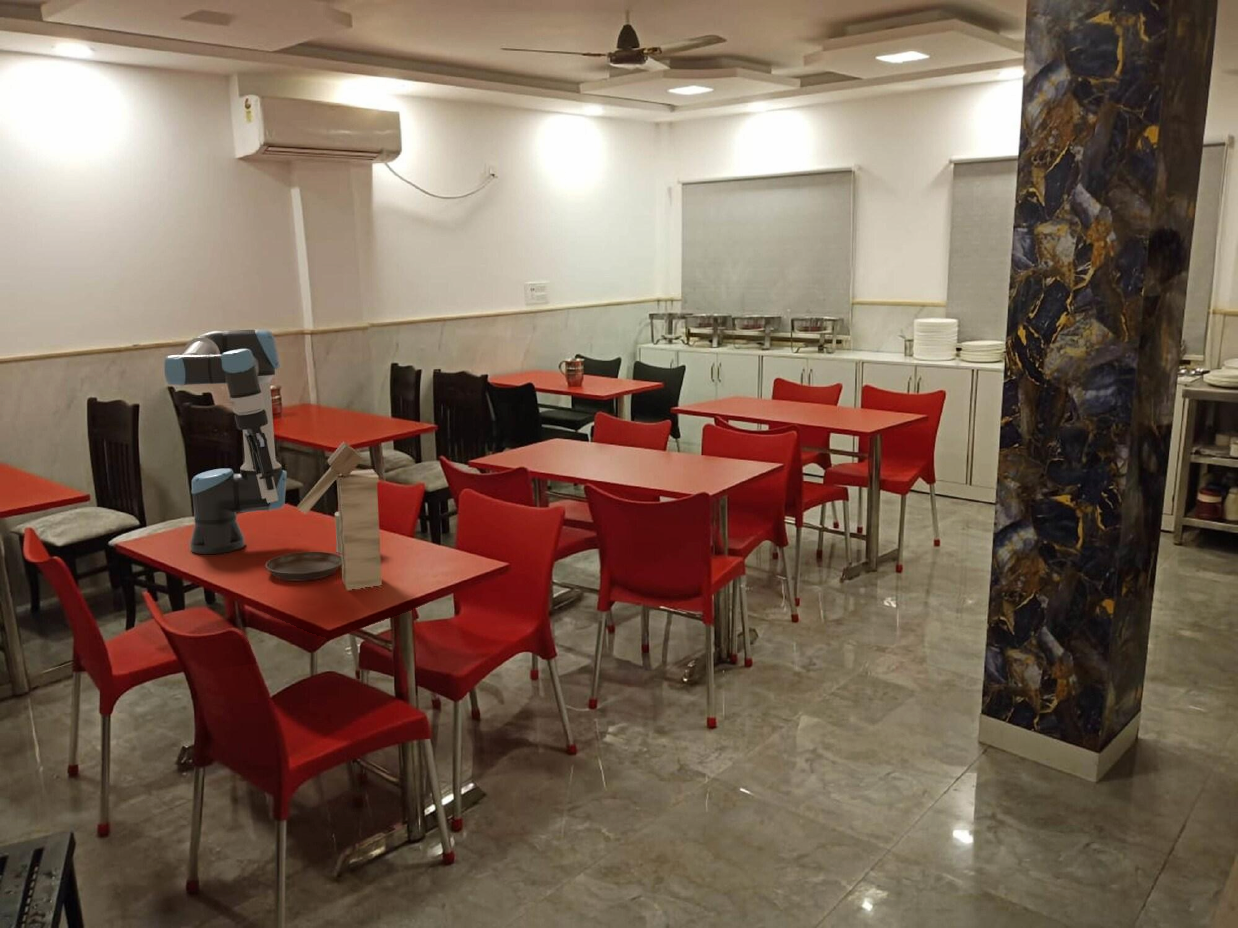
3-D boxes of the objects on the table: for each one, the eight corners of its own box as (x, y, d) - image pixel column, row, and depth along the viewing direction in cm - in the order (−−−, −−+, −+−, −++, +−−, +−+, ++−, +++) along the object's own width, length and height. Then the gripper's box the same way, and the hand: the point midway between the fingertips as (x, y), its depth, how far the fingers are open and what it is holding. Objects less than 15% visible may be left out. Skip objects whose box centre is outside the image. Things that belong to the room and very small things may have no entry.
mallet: (308, 513, 259) (291, 501, 256) (360, 454, 260) (343, 441, 258) (310, 519, 254) (293, 507, 251) (362, 458, 255) (346, 445, 253)
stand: (340, 579, 267) (334, 472, 261) (377, 575, 271) (372, 469, 265) (345, 591, 258) (339, 479, 252) (384, 586, 262) (378, 476, 256)
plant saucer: (316, 556, 289) (315, 546, 288) (359, 571, 276) (358, 559, 275) (251, 573, 273) (250, 562, 272) (293, 589, 260) (293, 577, 260)
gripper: (227, 410, 252) (247, 496, 259) (241, 419, 237) (263, 510, 244) (257, 404, 256) (276, 489, 262) (273, 412, 241) (293, 502, 247)
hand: (270, 499), depth 253 cm, fingers open, 5 cm apart
